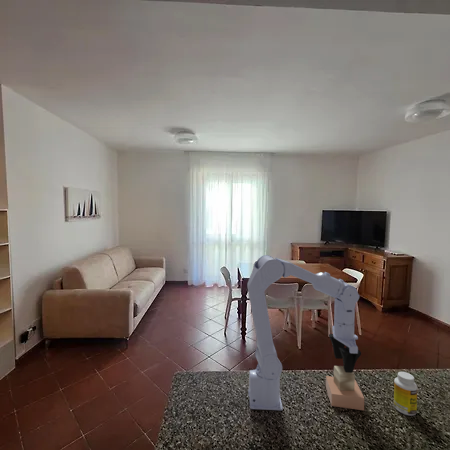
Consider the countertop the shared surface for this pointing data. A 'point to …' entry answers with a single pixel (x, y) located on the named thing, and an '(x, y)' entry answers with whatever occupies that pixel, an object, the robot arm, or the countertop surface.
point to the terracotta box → (344, 396)
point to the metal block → (344, 379)
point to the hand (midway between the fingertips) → (343, 364)
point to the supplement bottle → (405, 394)
